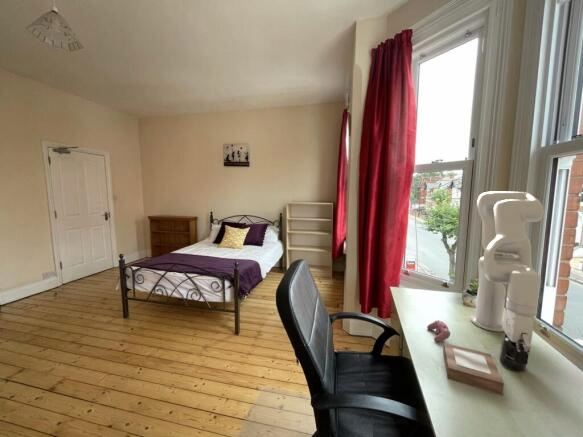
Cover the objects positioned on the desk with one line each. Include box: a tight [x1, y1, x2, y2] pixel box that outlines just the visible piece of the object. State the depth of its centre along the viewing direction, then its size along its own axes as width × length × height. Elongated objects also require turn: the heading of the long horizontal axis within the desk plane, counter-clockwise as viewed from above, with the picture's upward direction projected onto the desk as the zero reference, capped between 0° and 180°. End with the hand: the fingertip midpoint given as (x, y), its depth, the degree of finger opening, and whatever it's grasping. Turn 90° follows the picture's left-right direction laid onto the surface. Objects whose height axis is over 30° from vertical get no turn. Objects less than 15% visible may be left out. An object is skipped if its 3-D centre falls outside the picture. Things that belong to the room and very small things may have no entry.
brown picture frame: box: [442, 342, 505, 396], centre depth 82 cm, size 14×14×4 cm
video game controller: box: [426, 319, 451, 343], centre depth 101 cm, size 10×5×7 cm, turn 169°
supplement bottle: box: [499, 336, 528, 373], centre depth 84 cm, size 7×7×12 cm
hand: (514, 353), depth 83 cm, fingers open, 9 cm apart
